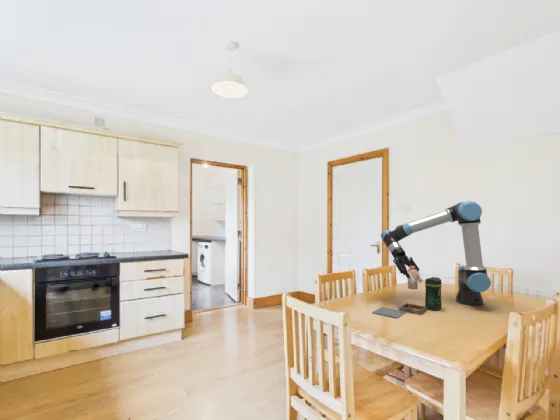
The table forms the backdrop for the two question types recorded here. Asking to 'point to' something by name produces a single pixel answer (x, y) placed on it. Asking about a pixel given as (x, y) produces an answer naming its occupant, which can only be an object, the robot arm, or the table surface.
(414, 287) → the terracotta spice bottle
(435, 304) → the coffee jar
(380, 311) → the plate
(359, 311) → the table surface
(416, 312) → the walnut frame
